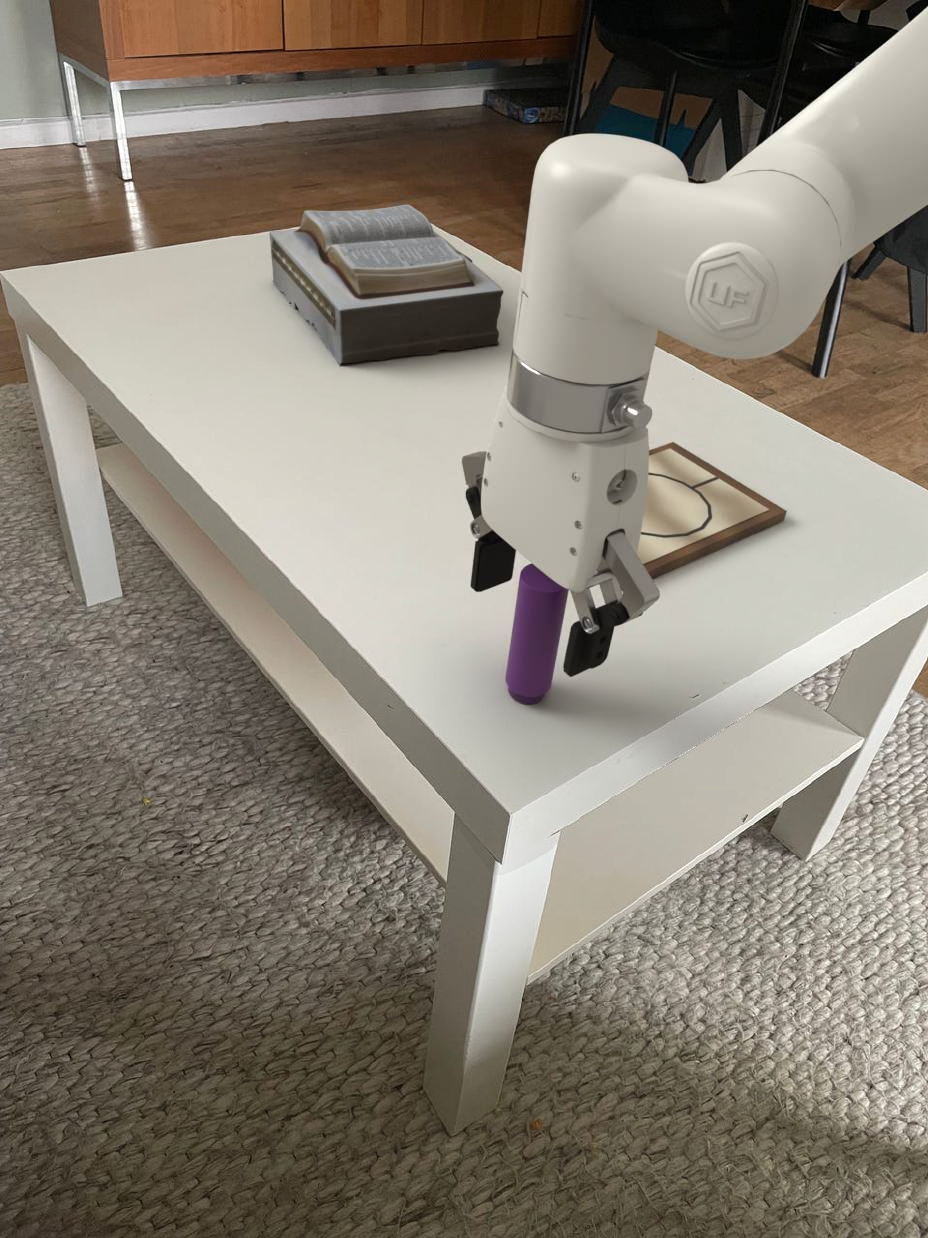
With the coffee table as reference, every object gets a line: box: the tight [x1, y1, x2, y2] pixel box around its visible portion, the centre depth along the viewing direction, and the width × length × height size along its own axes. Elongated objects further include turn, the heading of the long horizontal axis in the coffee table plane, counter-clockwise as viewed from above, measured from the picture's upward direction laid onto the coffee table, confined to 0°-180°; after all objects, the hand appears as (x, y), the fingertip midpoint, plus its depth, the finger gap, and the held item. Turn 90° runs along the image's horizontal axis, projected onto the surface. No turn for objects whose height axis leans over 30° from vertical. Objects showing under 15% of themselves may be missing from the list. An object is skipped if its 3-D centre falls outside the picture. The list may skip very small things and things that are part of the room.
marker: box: [504, 562, 570, 705], centre depth 67 cm, size 3×3×10 cm
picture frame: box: [596, 441, 788, 591], centre depth 88 cm, size 20×14×1 cm
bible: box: [268, 204, 504, 367], centre depth 115 cm, size 23×27×10 cm
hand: (535, 623), depth 66 cm, fingers open, 9 cm apart
